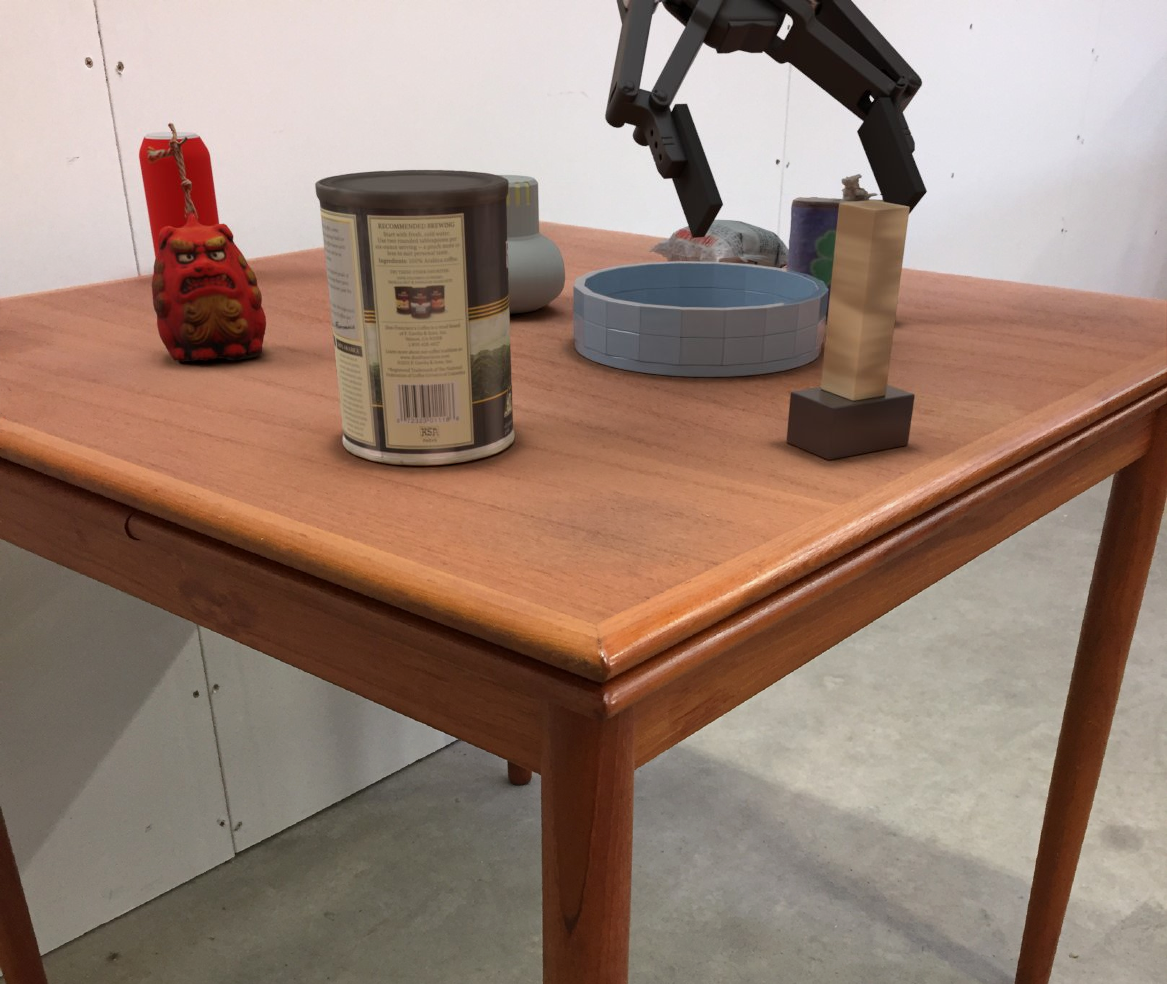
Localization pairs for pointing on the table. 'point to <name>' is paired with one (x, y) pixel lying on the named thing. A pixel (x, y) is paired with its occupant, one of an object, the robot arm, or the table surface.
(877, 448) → the brush
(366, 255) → the coffee can
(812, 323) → the bowl
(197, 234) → the red clay folk toy
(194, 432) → the table surface
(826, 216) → the flask
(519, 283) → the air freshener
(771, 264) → the packaged food
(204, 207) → the beverage can
